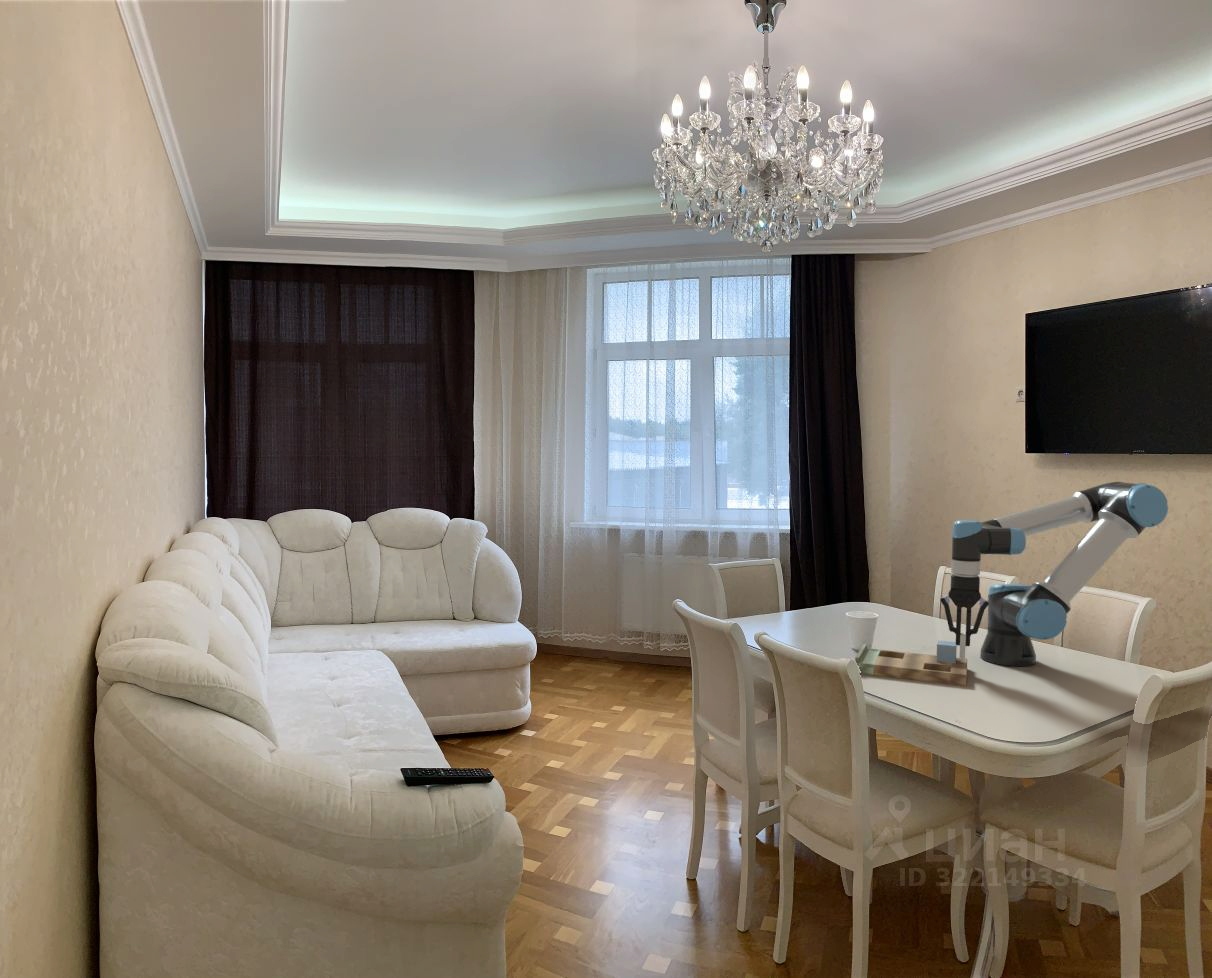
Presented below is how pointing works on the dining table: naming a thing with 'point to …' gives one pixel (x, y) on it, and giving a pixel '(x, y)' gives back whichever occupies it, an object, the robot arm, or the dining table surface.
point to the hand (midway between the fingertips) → (962, 656)
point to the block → (946, 651)
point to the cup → (861, 628)
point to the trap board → (910, 666)
